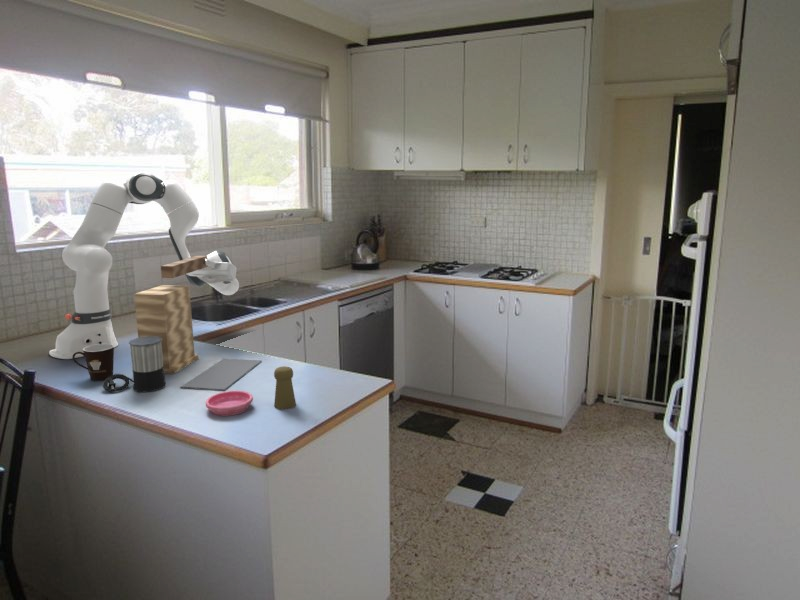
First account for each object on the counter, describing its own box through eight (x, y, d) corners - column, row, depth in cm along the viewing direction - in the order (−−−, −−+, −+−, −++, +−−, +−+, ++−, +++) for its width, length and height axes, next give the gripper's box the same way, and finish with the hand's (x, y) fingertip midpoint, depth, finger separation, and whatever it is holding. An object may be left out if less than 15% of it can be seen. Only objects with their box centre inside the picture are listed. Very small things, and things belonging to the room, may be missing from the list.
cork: (275, 401, 161) (273, 364, 159) (297, 400, 162) (295, 363, 159) (272, 409, 155) (270, 371, 153) (295, 409, 156) (293, 371, 154)
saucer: (199, 418, 150) (198, 407, 149) (214, 400, 162) (213, 390, 162) (247, 418, 150) (246, 407, 150) (258, 400, 162) (257, 389, 162)
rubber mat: (224, 390, 169) (224, 389, 169) (180, 388, 171) (180, 386, 171) (261, 361, 196) (261, 360, 196) (223, 359, 198) (223, 358, 198)
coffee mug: (123, 375, 183) (120, 345, 181) (101, 383, 175) (98, 352, 173) (95, 371, 187) (91, 341, 185) (72, 379, 179) (69, 349, 177)
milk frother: (171, 387, 172) (167, 340, 169) (117, 401, 161) (112, 351, 158) (151, 376, 182) (147, 331, 179) (99, 389, 171) (93, 341, 168)
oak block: (174, 373, 184) (167, 295, 179) (137, 371, 186) (129, 293, 181) (198, 358, 200) (193, 285, 194) (164, 356, 202) (158, 284, 196)
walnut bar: (172, 278, 188) (171, 266, 187) (161, 277, 188) (160, 265, 187) (207, 266, 211) (207, 255, 210) (197, 266, 211) (197, 255, 211)
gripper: (191, 266, 223) (173, 252, 210) (240, 267, 220) (225, 253, 207) (188, 281, 221) (170, 268, 208) (237, 282, 218) (222, 269, 205)
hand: (198, 261), depth 207 cm, fingers closed on walnut bar, 4 cm apart
